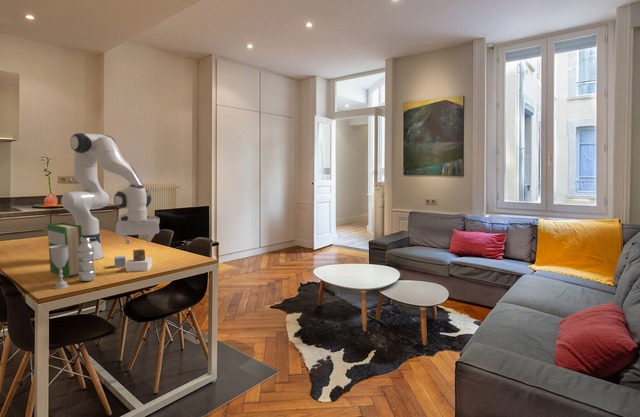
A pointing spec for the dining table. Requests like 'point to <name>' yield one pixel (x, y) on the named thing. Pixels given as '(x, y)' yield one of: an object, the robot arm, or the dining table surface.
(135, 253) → the walnut cube
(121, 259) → the blue-grey cube
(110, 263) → the dining table surface
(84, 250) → the plastic bottle
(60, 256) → the chalice
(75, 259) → the hardback book
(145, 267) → the base block
